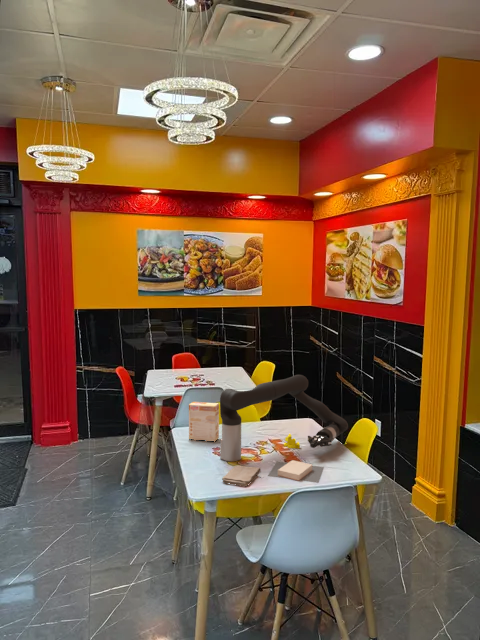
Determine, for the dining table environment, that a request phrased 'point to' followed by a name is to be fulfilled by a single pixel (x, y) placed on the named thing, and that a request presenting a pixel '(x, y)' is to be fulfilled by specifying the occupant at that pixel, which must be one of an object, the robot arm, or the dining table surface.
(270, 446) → the dining table surface
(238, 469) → the washcloth
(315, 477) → the mat
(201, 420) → the coffeecake box
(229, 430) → the robot arm
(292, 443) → the crumpled paper
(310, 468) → the tile
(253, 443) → the dining table surface
